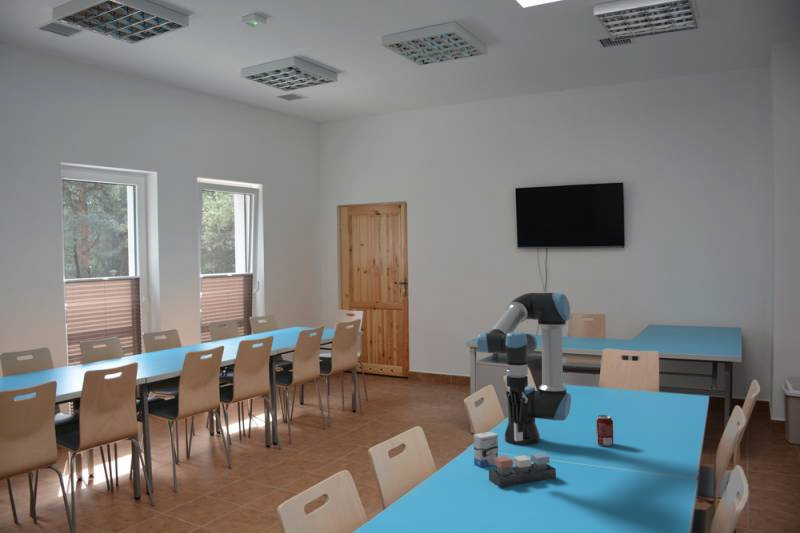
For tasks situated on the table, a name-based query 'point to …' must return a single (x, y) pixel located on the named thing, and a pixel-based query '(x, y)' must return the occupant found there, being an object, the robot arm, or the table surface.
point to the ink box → (485, 448)
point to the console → (522, 476)
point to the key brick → (503, 465)
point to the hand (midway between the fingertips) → (518, 440)
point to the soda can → (604, 430)
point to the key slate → (540, 460)
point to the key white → (522, 463)
